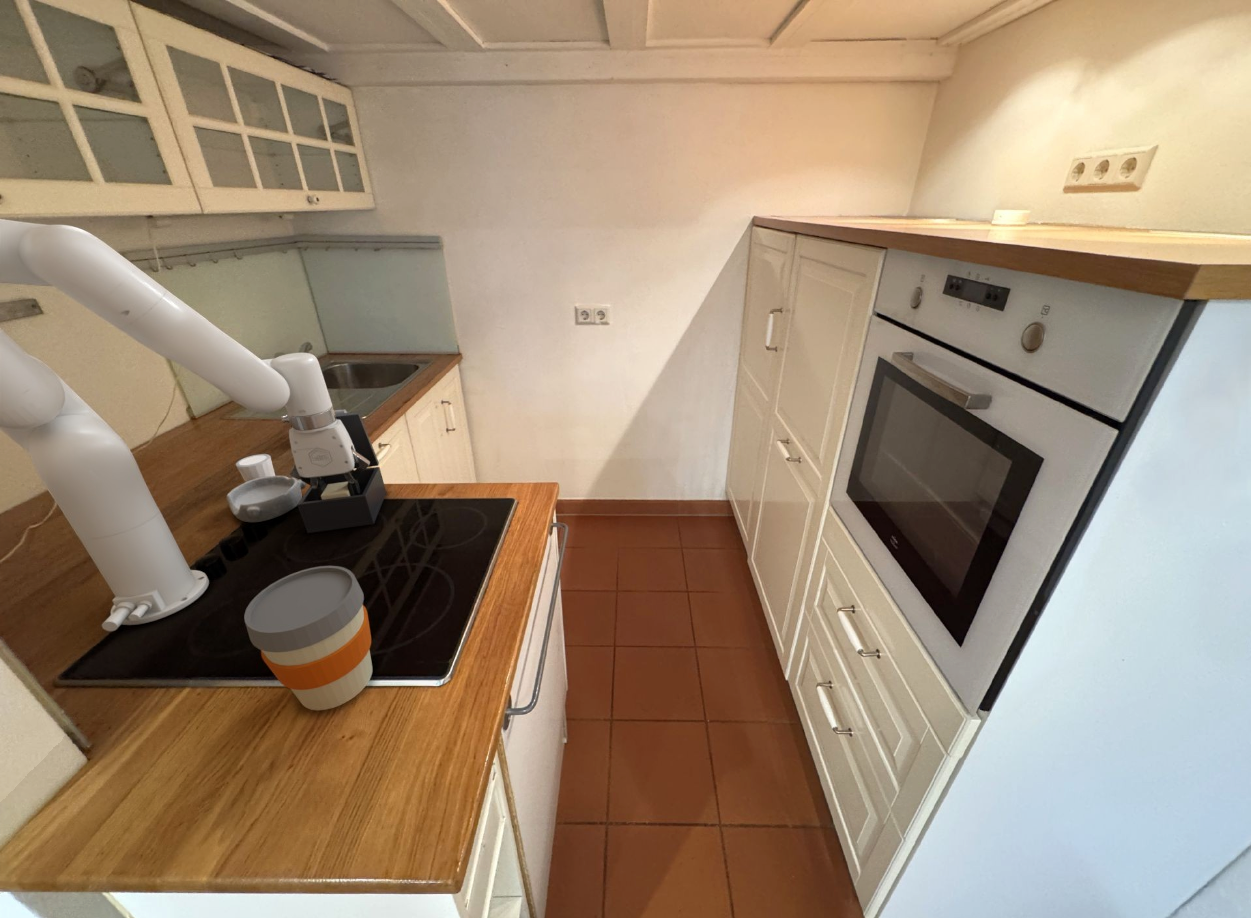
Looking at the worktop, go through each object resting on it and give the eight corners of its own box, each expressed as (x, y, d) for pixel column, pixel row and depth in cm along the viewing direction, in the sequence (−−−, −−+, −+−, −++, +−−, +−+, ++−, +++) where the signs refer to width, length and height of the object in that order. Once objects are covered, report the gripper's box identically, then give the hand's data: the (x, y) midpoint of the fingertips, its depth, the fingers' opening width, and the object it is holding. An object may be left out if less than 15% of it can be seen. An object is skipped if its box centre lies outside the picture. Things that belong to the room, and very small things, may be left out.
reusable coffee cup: (401, 645, 74) (376, 564, 67) (358, 723, 62) (322, 634, 56) (318, 645, 74) (285, 564, 68) (261, 723, 63) (214, 634, 56)
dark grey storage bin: (373, 524, 104) (365, 495, 101) (307, 533, 101) (296, 504, 98) (386, 492, 116) (379, 466, 113) (327, 500, 113) (318, 473, 110)
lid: (358, 414, 103) (362, 400, 107) (291, 421, 100) (297, 406, 104) (378, 465, 112) (381, 451, 116) (317, 473, 110) (322, 458, 113)
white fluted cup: (240, 489, 119) (229, 463, 116) (269, 476, 125) (259, 451, 122) (256, 495, 116) (245, 468, 113) (286, 482, 122) (276, 456, 119)
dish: (264, 529, 103) (256, 508, 101) (216, 520, 107) (206, 500, 105) (321, 495, 115) (315, 476, 113) (276, 487, 119) (269, 469, 117)
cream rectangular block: (351, 504, 102) (347, 492, 101) (325, 508, 102) (320, 495, 100) (357, 492, 107) (353, 480, 105) (332, 496, 106) (327, 484, 105)
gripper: (256, 431, 91) (290, 515, 99) (356, 420, 94) (381, 502, 102) (272, 417, 98) (302, 496, 106) (365, 407, 101) (388, 485, 109)
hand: (341, 498), depth 104 cm, fingers closed on cream rectangular block, 5 cm apart
